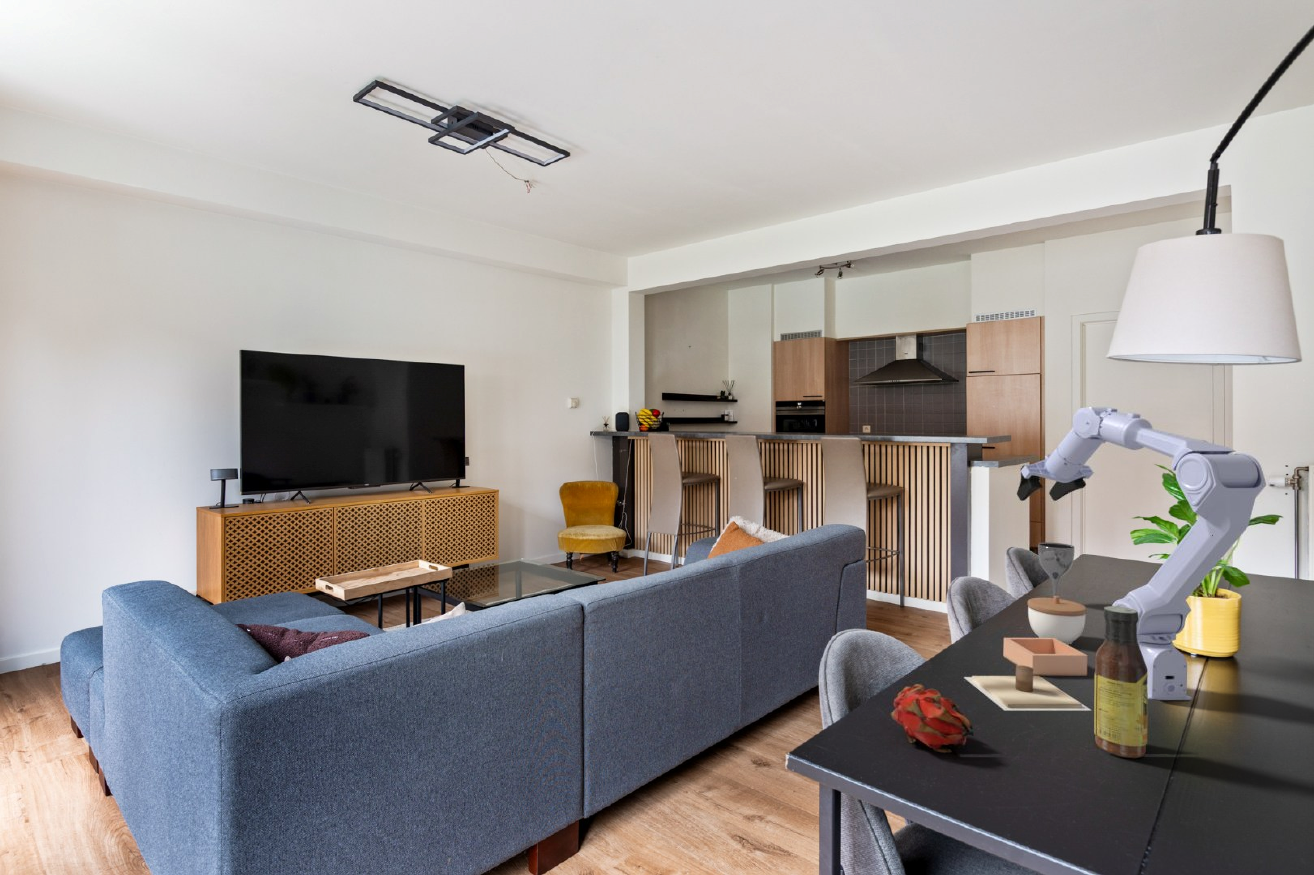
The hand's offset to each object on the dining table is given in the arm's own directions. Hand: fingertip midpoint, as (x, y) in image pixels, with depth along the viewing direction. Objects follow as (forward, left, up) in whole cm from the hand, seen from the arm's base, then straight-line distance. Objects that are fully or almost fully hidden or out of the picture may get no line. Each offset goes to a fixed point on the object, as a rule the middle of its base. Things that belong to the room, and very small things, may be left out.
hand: (1036, 497), depth 147 cm
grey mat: (-31, +19, -30) cm, 47 cm away
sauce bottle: (-50, +16, -30) cm, 61 cm away
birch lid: (-31, +19, -30) cm, 47 cm away
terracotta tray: (-18, +8, -30) cm, 36 cm away
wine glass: (+27, -21, -30) cm, 45 cm away
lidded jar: (-2, -4, -30) cm, 31 cm away
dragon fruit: (-48, +42, -30) cm, 71 cm away
